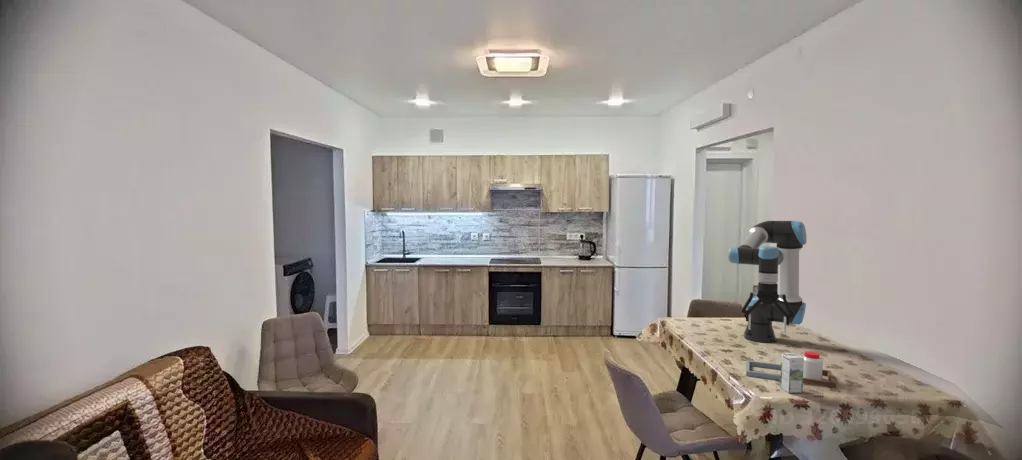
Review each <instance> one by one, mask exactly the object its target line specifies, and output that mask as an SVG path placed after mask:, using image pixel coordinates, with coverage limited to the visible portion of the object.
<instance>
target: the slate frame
mask: <svg viewBox="0 0 1022 460" xmlns="http://www.w3.org/2000/svg"><path fill="white" fill-rule="evenodd" d="M745 364H746V366H745V367H746V369H745V370H746V373H745V375H746V377H752V378H753V377H754V378H760V379H767V380H774V379H775V380H776V379H777V380H776V381H781V374H779V373H768V372H761V371H753V370H750V367H757V368H766V369H772V370H773V369H774V370H779V371H781V363H780V364H779V363H772V362H764V361H755V360H750V359H748V360H747V359H746V362H745Z"/></svg>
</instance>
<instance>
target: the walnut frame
mask: <svg viewBox="0 0 1022 460" xmlns="http://www.w3.org/2000/svg"><path fill="white" fill-rule="evenodd" d="M822 376H825V377H826V376H827V378H828V380H823V379H822V380H816V379H809V378H803V383H805V385H812V386H818V387H825V388H826V387H827V388H832V389H833V388H834V389H836V388H837V382H836V380H835V377H834V375H833V373H832V371H831V370H828V369H822Z"/></svg>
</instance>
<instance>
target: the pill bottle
mask: <svg viewBox="0 0 1022 460" xmlns="http://www.w3.org/2000/svg"><path fill="white" fill-rule="evenodd" d="M803 353H804V355H801V356H802V357H803V358H804V370H803V378H809V379H816V380H823V375H822V370H823V367H824V364H823V361H824V360H823V359H822V358H821V356H820V355H821V354H820V352H816V351H812V350H811V351H810V350H806V351H804V352H803Z"/></svg>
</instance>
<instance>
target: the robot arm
mask: <svg viewBox="0 0 1022 460" xmlns="http://www.w3.org/2000/svg"><path fill="white" fill-rule="evenodd" d="M765 243H767V244H776V246H762V245H764V244H765ZM806 244H807V230H806V227H805V224H804V223H803V222H802V221H797V220H765V221H762V222H759V223H757V224H755V225H753V226H752V227H751V228H750V229H749V230H748V232H747V236H746V237H745V238H744V240H743V241H742V242H741V243H740V245H739V246H738V247H737V246H733V247H729V250H728V254H727V256H728V261H729V263H731V264H737V265H751V266H753V265H754V266H758V275H757V277H758V278H757V279H758V285H757V292H753V291H750V292H749V297H748V299H747V300H746V302H745V303H744V305H743V307H742V308H741V310H740V311H741V313H742V314H745V321H746V322H747V325H746V326H745V329H744V333H743V338H744V339H745V340H748V341H752V342H756V343H758V342H759V343H773V342H776V334H775V331H774V328H773V322H775V323H782V324H783V333H784V334H786V333H787V326H790V325H801V324H802V323H803V320H804V318H805V314H806V306H807V304H806V303H805V302H804V301H803V298H802V297H801V296H800V251H801V250H802V249H803V248H804V247H803V246H804V245H806ZM778 282H779V286H778ZM778 287H779V288H778ZM778 289H779V290H778Z"/></svg>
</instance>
